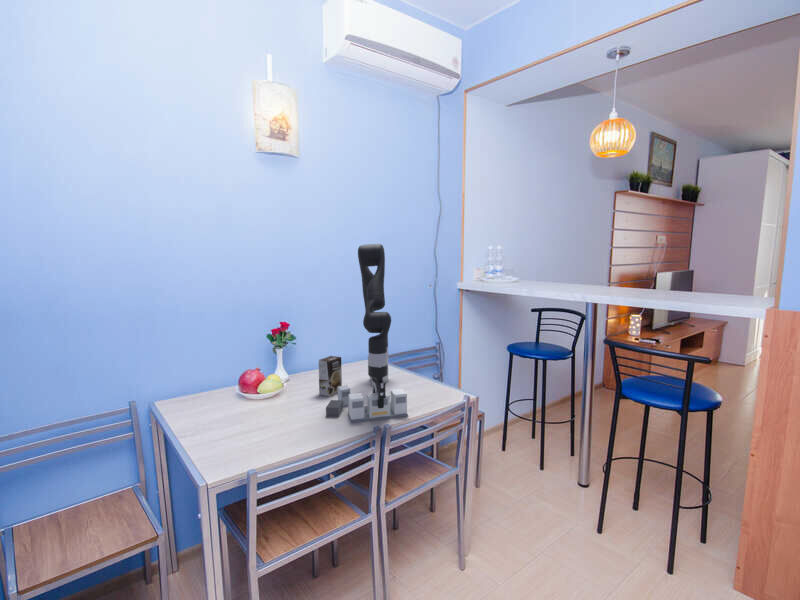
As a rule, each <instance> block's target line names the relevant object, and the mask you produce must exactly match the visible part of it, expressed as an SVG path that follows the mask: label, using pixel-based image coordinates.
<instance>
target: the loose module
mask: <svg viewBox="0 0 800 600" xmlns="http://www.w3.org/2000/svg"><path fill="white" fill-rule="evenodd" d="M381 395H382V393H380V396H381ZM385 395H386V398H385V399H384V408H378V398H377V393H373V392H369V393H367V394H366V405H367V414H368V416H369V418H375V417H384V416H390V402H391V394H389V392H387V391H385Z"/></svg>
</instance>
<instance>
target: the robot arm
mask: <svg viewBox="0 0 800 600" xmlns="http://www.w3.org/2000/svg"><path fill="white" fill-rule="evenodd" d="M385 253H386V252H385V248H384V245H383V244H382V243H381V244H380V243H372V244H371V243H370V244H362V245H359V246H358V248H357V258H358V265H359V270H360V276H361V283H362V285H361V287H362V294H363V295H362V296H363V297H362V298H363V301H364V310H365V311H364V312H365V313H364V316H363V320H362V323H363V324H362V325H363V327H364V329H365V330H366V331H367V332H368V333H370V334H376V335H373V336H370V337H369V338H368V342H367V343H368V356H367V370H368V371H367V373H368V374H367V375H368V376H369V381H370V382H371V386H370V388H371V390H372V393H377V398H378V408H384V399H385V398H386V395H385V392H386V382H389V332H390V328H391V325H392V316H391V314H390V313H389V312H387V311H380V310H382V309H384V307H385V305H386V299H385V272H386V266H385V265H386V263H385V262H386V256H385V255H386V254H385ZM369 267H370V268H371V267H376V271H375V272H374V273H373V272H372V271H371V269H370V268H369ZM380 393H382V395H381V396H380Z"/></svg>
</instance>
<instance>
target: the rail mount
mask: <svg viewBox="0 0 800 600" xmlns="http://www.w3.org/2000/svg"><path fill="white" fill-rule="evenodd" d="M347 411H348V412H347V413H348V414H347V415H348V417H349V419H350V420H349V421H350V422H351V423H352V424H354V423H355V424H356V423H362V422H369V421H379V420H380V421H381V420H387V419H389V420H390V419H395V418H397V419H398V418H404V417H408V415H409V414H408V393H407V392H406V391H405V390H404V388H397V389H390V416H384V417H375V418H369V416H368V414H367V404H365V397H364V395H363V394H362V392H358V393H357V392H356V393H350V394H349V405H348V406H347Z"/></svg>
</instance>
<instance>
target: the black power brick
mask: <svg viewBox="0 0 800 600" xmlns="http://www.w3.org/2000/svg"><path fill="white" fill-rule="evenodd" d="M343 411H344V406H343V400H338V399H331V400H330V401H329V402H328V404H327V405H326V406H325V417H327V418H340V415H341V414H342V412H343Z"/></svg>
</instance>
